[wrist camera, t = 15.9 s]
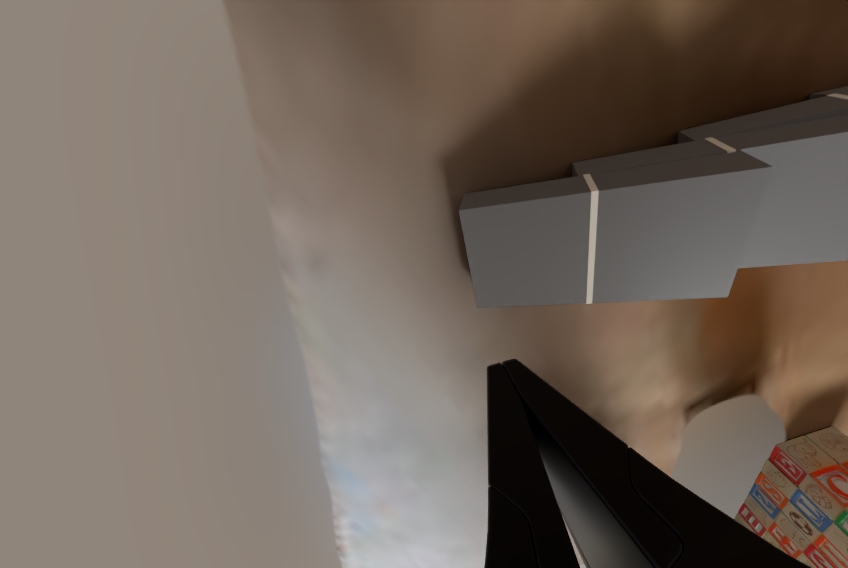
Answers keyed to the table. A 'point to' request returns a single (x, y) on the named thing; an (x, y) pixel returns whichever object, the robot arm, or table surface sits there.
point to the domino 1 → (615, 233)
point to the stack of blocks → (803, 499)
